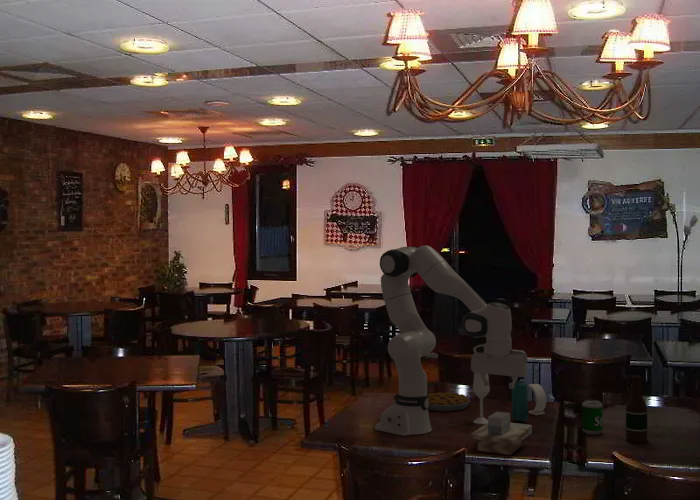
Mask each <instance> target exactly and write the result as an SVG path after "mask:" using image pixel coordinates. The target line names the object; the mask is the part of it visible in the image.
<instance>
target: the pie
mask: <svg viewBox="0 0 700 500" xmlns="http://www.w3.org/2000/svg"><path fill="white" fill-rule="evenodd" d="M427 394H428V400H429V405H428V411H429V410H430V411H433V412H457V411H461V410H465V409H467V407H468V406H469V405H468V404H470V403H471V399H470V397H469V396H468V395H465V394H463V393H461V394H459V393H458V392H454V393H453V392H449V391H445V392H441V391H437V392H436V393H433V392H429V393H427Z"/></svg>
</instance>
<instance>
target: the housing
mask: <svg viewBox="0 0 700 500" xmlns="http://www.w3.org/2000/svg"><path fill="white" fill-rule="evenodd" d="M487 420H488V423H487V424H488V434H494V435H501V436H502V435H503V434H505V433H506V432H507V431H509V430H510V423H511V413H510V412H504V411H495V412H494V413H492V414H491V415H488V416H487Z"/></svg>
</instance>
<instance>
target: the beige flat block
mask: <svg viewBox="0 0 700 500" xmlns="http://www.w3.org/2000/svg"><path fill="white" fill-rule="evenodd" d="M510 427H516V428H524V429H528V434H527V435H525V436H524V437H523V438H521V442H522V441H524V440H525V439H526V438H527V437H529V436H530V435H531V434H532V433H533V425H532V424H526V423H517V422H510Z"/></svg>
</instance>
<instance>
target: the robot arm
mask: <svg viewBox="0 0 700 500" xmlns="http://www.w3.org/2000/svg"><path fill="white" fill-rule="evenodd" d="M379 268H380V270H381V272H382V275H381V276H380V286H381V288H380V289H381V292H382V297H383V301H384V305H385V307H386V311H387V314H388V317H389V320H390V321H391V322H392V324H394V325H395V326H396V327H397V329H398V331H399V333H398V334H396V335H394V336H393V337H392V338H391V339H390V340H389V341H388V343H387V352H388V355H389V356H390V357H391V359H393V361H394V363H395V366H396V367H395V368H396V370H397V377H398V393H396V394H395V395H394V396H393V397H392V400H394V402H393V403H392V404H391V405H390V406H389V407H388V408H386V409H385V410H384V411H382V413H381V416H380V420H379V421H380V422H378V423H376V424H375V426H374V430H375V431H380V432H385V433H388V434H394V435H397V436H402V437H403V436H411V435H412V436H413V435H423V434H427V433H430V432H431V431H433V429H432V425H431V422H430V416H429V409H428V405H429V400H428V394H429V393H428V376H427V373H426V371H425V370H424V369H423V366H422V361H421V358H423V357H425V356H427V355H430V354H431V352H433V350H435V348H436V345H437V339H436V336H435V334H434V333H433V332H432V331H431V330H429V328H427V326H426V325H425V323H424V321H423V319H422V318H421V316H420V314H419V313H418V310H417V307H416V306H417V305H416V304H415V301H414V298H413V294H412V291H411V288H410V285H409V279H410V278H414V277H416V276H417V275H419V276H420V277H421V279H422V280H423V282H424V283H425V284H426V285H427V286H428V287H429V288H430V289H431V290H432V291H434V292H435V293H438V294H441V295H446V296H451V297H454V298H456V299H458V300H459V301H461V302H462V303H463V304H464V305H465V306H466V307H467V308H468V309H469V310H470V311H469V312H467V313H466V314H464V316H463V317H462V320H461V328H462V331H463V332H464V333H465V335H467V336H468V337H470V338H475V339H476V338H483V337H485V339H486V342H485V343H484V342H483V343H482V344H481V343H480V344H478V345H476V346H474V347H473V352H474V353H473V354H472V356H471V358H470V359H471V361H470V371H471V372H472V373H474V372H476V373H481V378H482V380H483V381H484V386H489V387H490V379H489V380H487V379H486V377H485V375H486V374H488V375H497V376H508V377H511V379H512V381H511V382H509V383H508V389H511V390H512V389H514V383H515V382H516V381H518V380H519V379H518V377H526V376H528V370H529V369H528V363H527V362H528V353H526V352H525V351H524V350H517V349H512V341H513V340H512V336H511V333H512V328H513V327H512V326H513V325H512V322H513V321H512V312H511V309H510V307H509V305H507V304H505V303H501V302H494V301H493V302H489V303H487V302H486V301H485V300H484V299H483V297H481V296H480V294H479V293H478V292H476V290H475V289H474V288H473V287H472V285H470V284H469V283H468V282H467V281H466V280H464V279H463V278H462V277H461V276H460V275H459V274H458V273H457V272H456V271H455V270H454V269H453V267H452V266H451V265H450V264H449V263H448V262H447V260H445V258H444V257H443V256H442V255H441V254H440V253H439V252H438V251H437V250H435V249H434V248H433V247H432V246H430V245H428V244H427V245H421V246H416V245H415V246H414V245H412V246H402V247H399V248H394V249H389V250H387V251H385V252H383V254H382V255H381V256H380V259H379Z"/></svg>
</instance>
